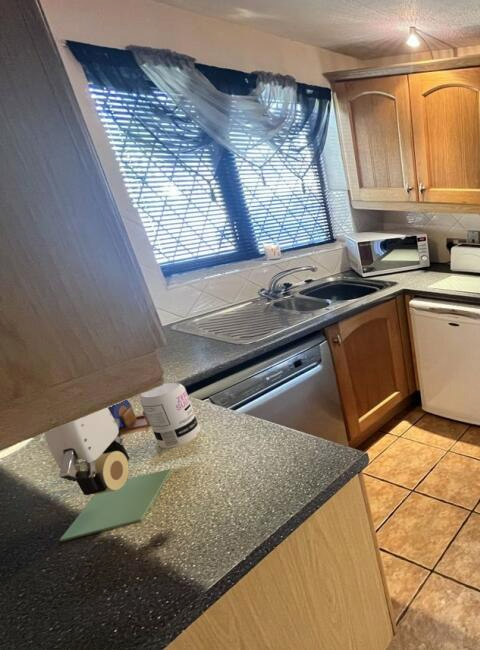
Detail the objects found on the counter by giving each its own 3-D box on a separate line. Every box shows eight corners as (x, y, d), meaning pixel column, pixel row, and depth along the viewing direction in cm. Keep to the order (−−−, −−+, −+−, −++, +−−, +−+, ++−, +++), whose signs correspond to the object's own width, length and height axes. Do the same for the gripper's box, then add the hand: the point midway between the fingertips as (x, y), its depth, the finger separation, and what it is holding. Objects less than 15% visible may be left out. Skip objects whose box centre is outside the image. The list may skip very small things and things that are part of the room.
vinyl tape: (106, 436, 97) (94, 411, 94) (122, 419, 103) (111, 395, 100) (121, 433, 98) (110, 408, 95) (136, 416, 104) (125, 392, 101)
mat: (60, 542, 71) (59, 540, 70) (103, 486, 83) (102, 484, 83) (141, 520, 75) (140, 519, 74) (171, 470, 87) (170, 468, 87)
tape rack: (99, 442, 96) (91, 426, 94) (118, 421, 104) (111, 406, 102) (149, 432, 99) (142, 416, 97) (164, 413, 107) (157, 397, 105)
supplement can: (159, 439, 97) (137, 388, 91) (200, 424, 102) (181, 376, 97) (160, 456, 91) (137, 403, 86) (203, 440, 96) (183, 389, 91)
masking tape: (94, 503, 73) (76, 473, 71) (115, 475, 80) (100, 447, 77) (114, 498, 74) (97, 468, 72) (133, 471, 81) (119, 443, 78)
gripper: (73, 382, 76) (109, 452, 83) (3, 437, 61) (53, 518, 67) (121, 375, 79) (152, 443, 85) (65, 425, 63) (108, 504, 70)
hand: (108, 476), depth 76 cm, fingers closed on masking tape, 7 cm apart
